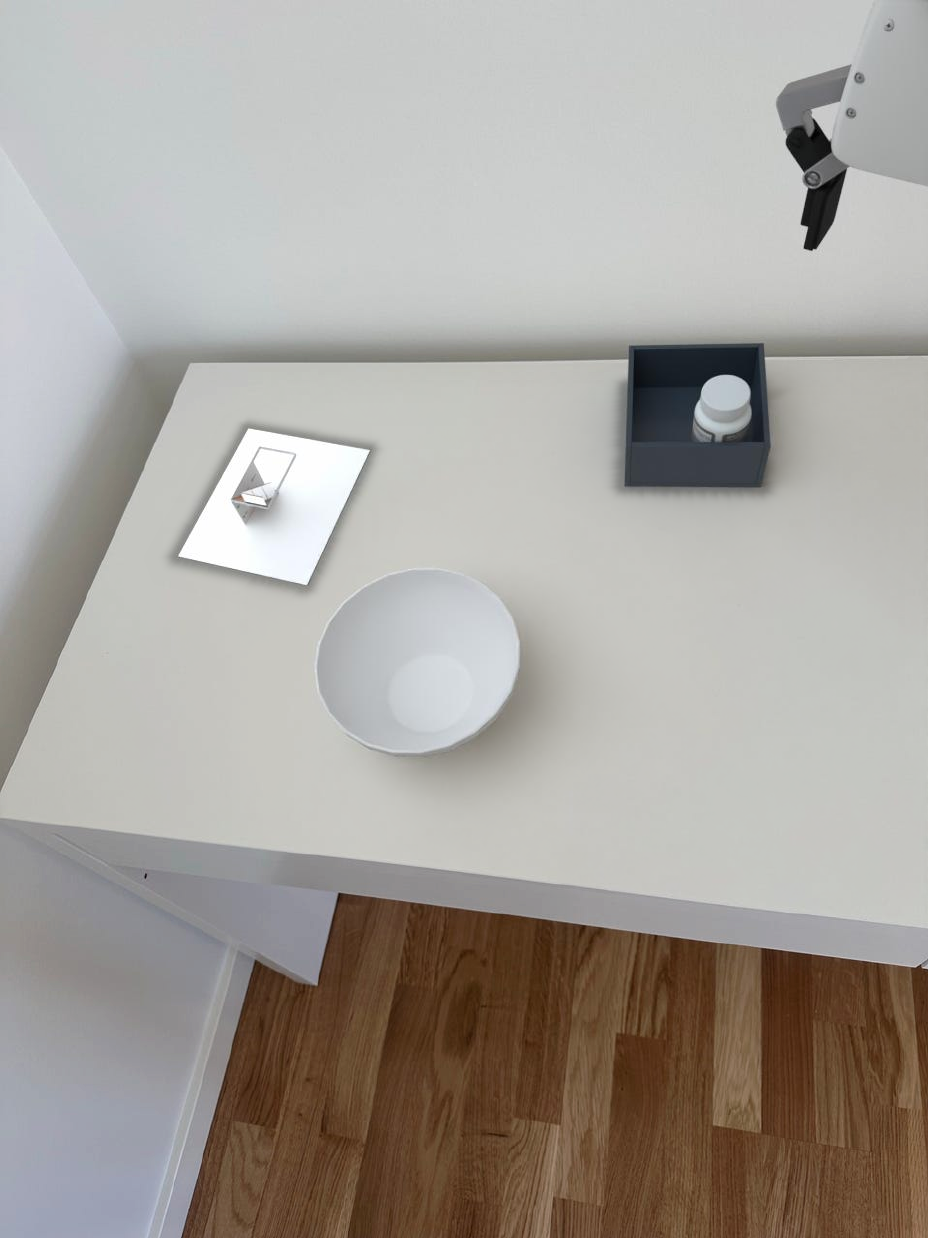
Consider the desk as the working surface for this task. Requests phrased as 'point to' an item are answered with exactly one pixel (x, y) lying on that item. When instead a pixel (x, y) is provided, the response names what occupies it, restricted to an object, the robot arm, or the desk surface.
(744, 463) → the bin
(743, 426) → the pill bottle
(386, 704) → the bowl
